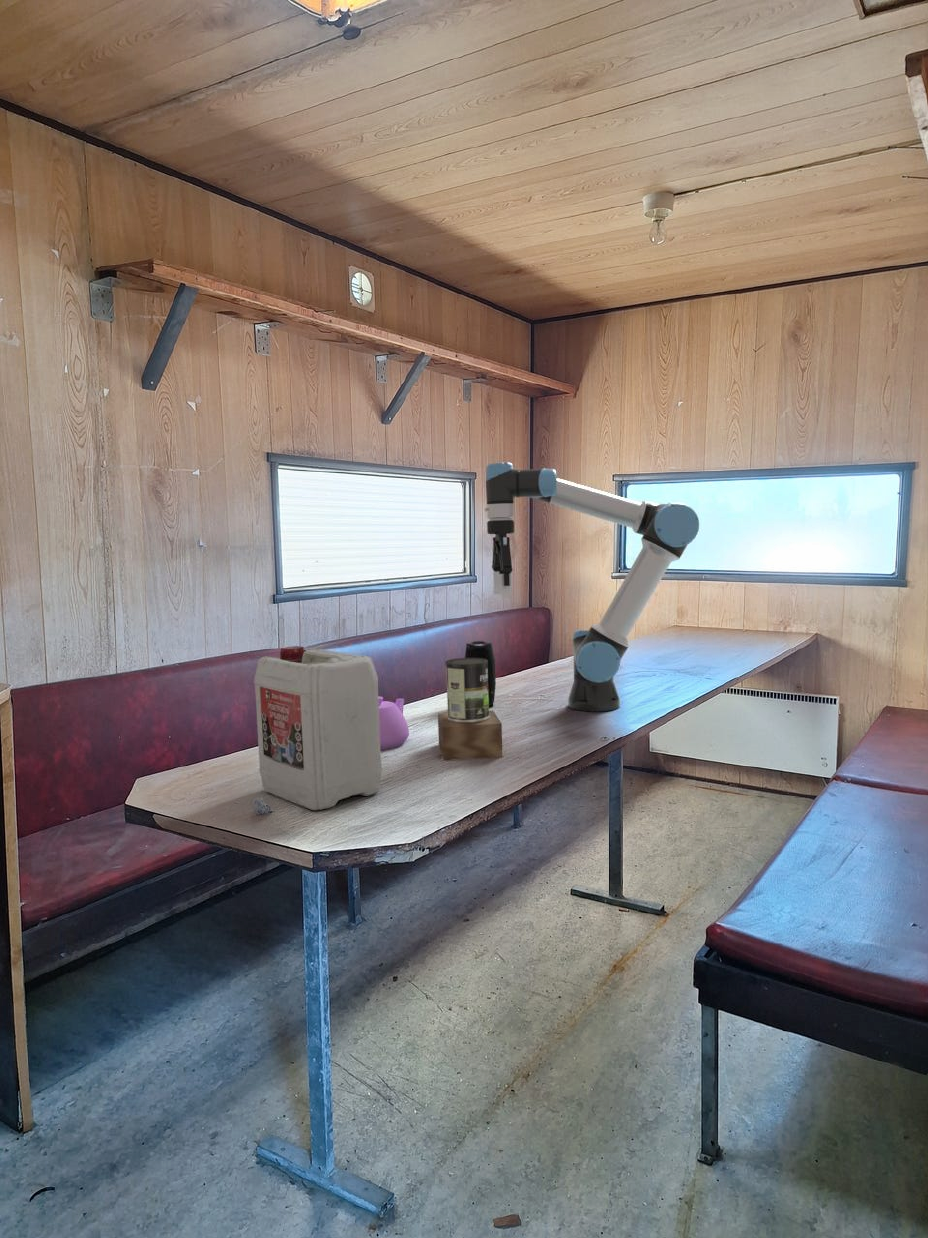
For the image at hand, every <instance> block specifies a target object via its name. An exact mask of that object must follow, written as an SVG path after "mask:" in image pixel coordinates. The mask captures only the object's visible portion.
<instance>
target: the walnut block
mask: <svg viewBox="0 0 928 1238" xmlns="http://www.w3.org/2000/svg"><path fill="white" fill-rule="evenodd" d="M502 725H503V724H502V722H501V720H500V719H499V717H498V715H497V714H496V713H495V711H494V710H489V719H487V720H484V721H480V722H472V723H460V722H453V721H450V720H448V712H441V713H437V728H438V746H440V747H439V749H440V753H442V754H441V757H442V760H443V761H449V760H448V759H457V760H470V758H474V759H488V758H489V759H491V758H501V757H504V756H503V729H502V728H503V727H502Z"/></svg>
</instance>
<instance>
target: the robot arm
mask: <svg viewBox="0 0 928 1238" xmlns="http://www.w3.org/2000/svg"><path fill="white" fill-rule="evenodd" d="M557 477H558V476H557V470H556V469H554V468H545V467H544V468H536V469H535V468H533V469H532V468H531V469H514V465H513V463H512V462H492V463H489V464H488V465H486V468H485V494H486V496H485V497H486V507H485V508H484V512H487V513H486V518H487V519H488V521H487V523H486V528H487V534H489V535H495V536H493V538H492V541H493V542H492V565H491V568H492V571H493V595H501V596H500V598H501V599H512V572H513V570H514V569H513V565H512V556H511V555H512V554H511V545H510V544H511V543H510V542H511V541H510V539H511V538H510V537H509V536H507V535H508V534H510V535H511V534H514V533H515V521H514V520H513V519H514V518H515V502H514V500H515V499H514V498H529V499H532V500H537V501H541V502H544V503H549V504H552V505H555V506H558V507H561V508H565V509H569V510H571V511H575V512H578V513H582V514H585V515H588V516H591V517H595V518H598V519H601V520H604V521H608V522H610V523H614V524H618V525H621V526H624V527H627V528H630V529H632V531H633V532H634V533H635V534H639V535H642V537H641V538H640V541H641V544H642V548H641V550H640V551H639V554H638V555H637V557H636V559H635V560H634V562H633V563H632V566H631V567H630V569H629V571H628V572H627V574H626V576H625V578H624V580H623V581H622V583H621V584H620V587H619V588H618V590H617V592H616V594H615V595H614V597H613V599H612V600H611V603H610V604H609V606H608V607H607V609H606V611H605V613H604V614H603V616H602V618H601V620H600V622H598V623H596V624H592V625H591V627H590V628H589V629H586V630H585V629H583V630H582V629H581V630H579V629H577V630H575V631H574V632H573V636H572V644H573V646H572V647H573V649H572V650H573V682H572V686H571V690H570V692H569V694H568V695H569V696H568V698H567V699H568V700H567V702H568V707H569V708H570V709H572V710H575V711H582V712H583V711H584V712H605V711H613V710H616V709H619V708H620V705H621V703H620V696H619V693H618V691H617V687H616V684H615V682H614V681H615V680H614V677H615V676H616V674H617V673H618V671H619V669H620V666H621V662H622V661H621V660H622V659H623V656H624V655H625V653H626V651H627V650H628V648H629V647H630V646H629V642H628V637H629V636H630V634H631V632H632V630H633V628H634V627H635V625H636V624H637V621H638V620H639V618H640V617H641V615H642V613H643V611H644V610H645V608H646V606H647V604H648V603H649V601H650V599H651V597H652V596H653V594H654V592H655V591H656V589H657V587H658V585H659V584H660V582H661V580H662V579H663V577H664V575H665V573H666V571H667V570H668V569H669V567H670V565H671V563H672V562H675V561H679V560H680V559H681V556H682V555H683V553H684V552H685V550H686V548H687V546H688V545H689V544H691V543H692V542H693V541H694V539H696V538H697V535H698V533H699V529H700V521H699V516H698V515H697V514H698V513H696V511H695V510H694V509H693V508H692V507H691V506H689V505H688V504H685V503H683V502H680V501H676V502H675V501H673V502H668V503H656V502H652V501H648V500H643V501H641V502H639V501H635V500H633V499H628V498H626V497H621V496H619V495H616V494H611V493H608V492H607V491H606V492H605V491H602V490H598V489H595V488H591V487H588V486H585V485H582V484H577V483H575V482H572V481H569V480H565V479H561V478H557Z"/></svg>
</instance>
